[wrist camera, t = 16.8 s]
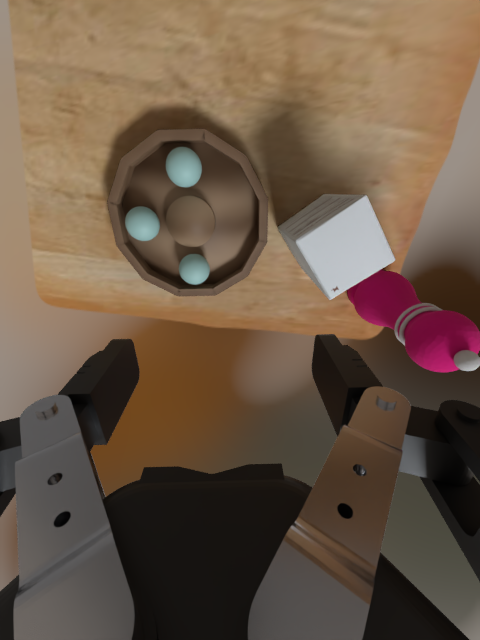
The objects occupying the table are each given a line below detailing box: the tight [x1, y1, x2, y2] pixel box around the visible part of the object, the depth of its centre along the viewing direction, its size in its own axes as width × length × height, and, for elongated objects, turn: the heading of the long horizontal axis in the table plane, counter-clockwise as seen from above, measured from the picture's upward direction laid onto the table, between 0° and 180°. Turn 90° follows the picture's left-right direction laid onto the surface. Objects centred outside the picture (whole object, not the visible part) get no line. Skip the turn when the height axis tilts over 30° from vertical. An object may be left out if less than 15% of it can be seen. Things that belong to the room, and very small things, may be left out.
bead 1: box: [125, 206, 160, 241], centre depth 33 cm, size 4×4×4 cm
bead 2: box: [166, 147, 202, 187], centre depth 31 cm, size 4×4×4 cm
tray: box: [107, 129, 268, 296], centre depth 35 cm, size 19×19×3 cm
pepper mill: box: [347, 269, 480, 372], centre depth 31 cm, size 7×7×20 cm
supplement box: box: [278, 194, 395, 300], centre depth 31 cm, size 7×7×13 cm
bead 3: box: [179, 254, 210, 285], centre depth 36 cm, size 4×4×4 cm
